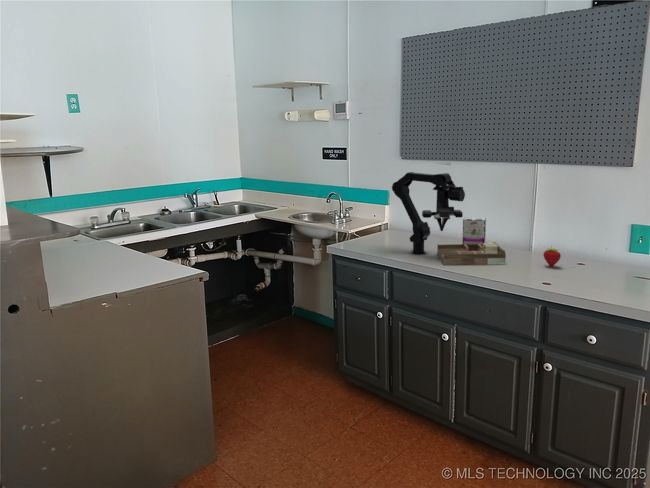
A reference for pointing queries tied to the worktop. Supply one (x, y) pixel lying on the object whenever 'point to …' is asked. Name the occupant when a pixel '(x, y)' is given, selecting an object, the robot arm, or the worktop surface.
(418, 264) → the worktop surface
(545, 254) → the strawberry
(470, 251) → the brown wooden tray
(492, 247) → the birch block
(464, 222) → the candy bar box
